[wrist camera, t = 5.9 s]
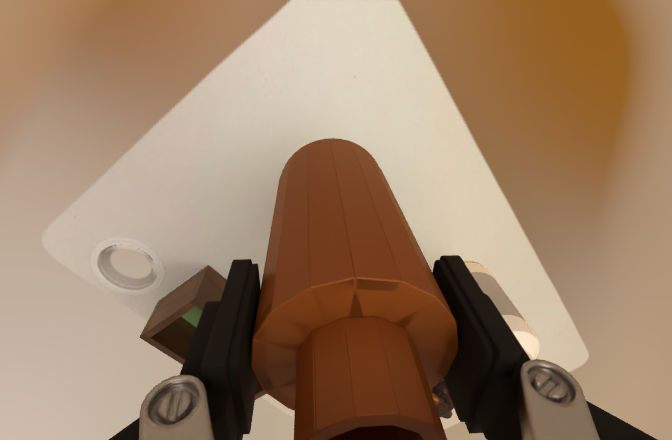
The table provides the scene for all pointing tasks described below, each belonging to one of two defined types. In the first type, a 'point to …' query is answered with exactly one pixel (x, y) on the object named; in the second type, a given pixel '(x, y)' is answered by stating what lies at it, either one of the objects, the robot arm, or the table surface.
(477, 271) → the spray bottle
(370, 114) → the table surface
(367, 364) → the bottle
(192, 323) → the holder
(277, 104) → the table surface
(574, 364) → the table surface
